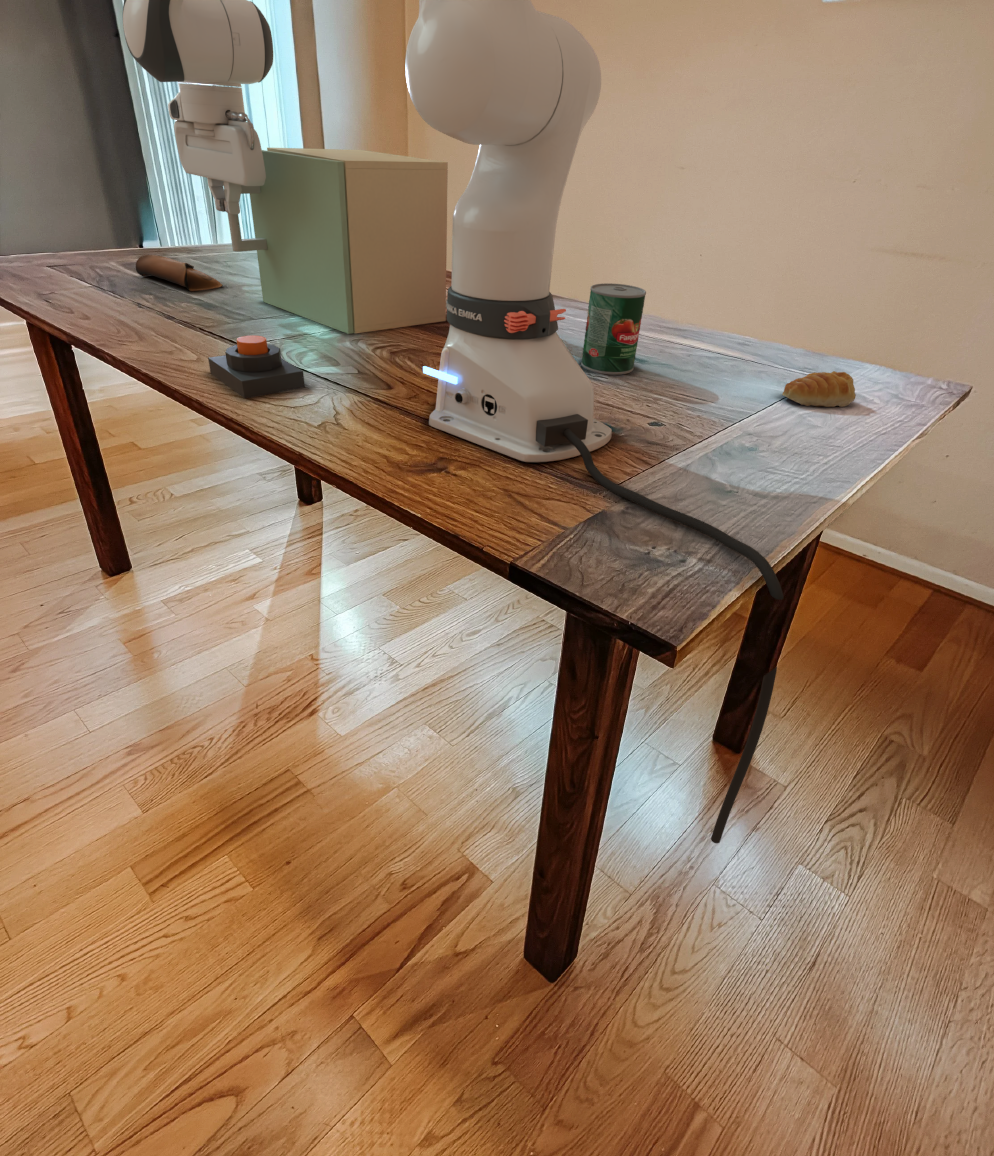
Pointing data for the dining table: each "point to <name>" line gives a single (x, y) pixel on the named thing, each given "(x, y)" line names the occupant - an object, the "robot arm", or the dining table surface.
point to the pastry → (822, 389)
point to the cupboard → (393, 236)
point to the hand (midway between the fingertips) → (228, 212)
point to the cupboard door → (301, 238)
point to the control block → (256, 372)
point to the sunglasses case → (175, 272)
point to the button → (252, 345)
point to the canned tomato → (612, 328)
